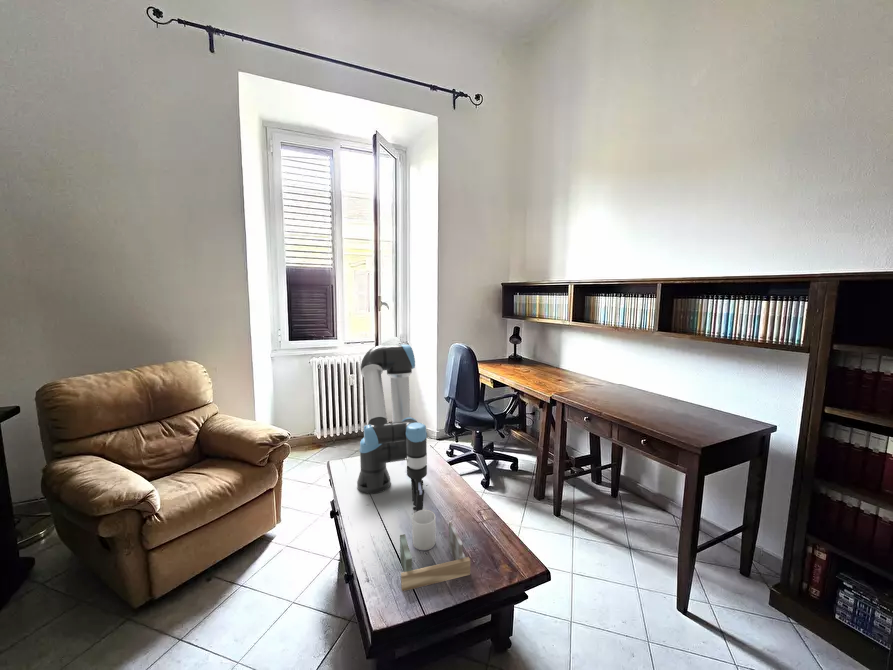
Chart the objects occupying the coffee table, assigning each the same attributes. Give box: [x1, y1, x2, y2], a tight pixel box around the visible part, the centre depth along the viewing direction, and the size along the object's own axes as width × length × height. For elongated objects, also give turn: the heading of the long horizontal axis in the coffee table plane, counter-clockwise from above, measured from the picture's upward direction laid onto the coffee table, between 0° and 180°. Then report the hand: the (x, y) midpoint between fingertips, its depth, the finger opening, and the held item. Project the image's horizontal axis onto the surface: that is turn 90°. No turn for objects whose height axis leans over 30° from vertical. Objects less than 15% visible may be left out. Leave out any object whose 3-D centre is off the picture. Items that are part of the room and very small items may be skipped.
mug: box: [411, 509, 437, 552], centre depth 131 cm, size 12×8×10 cm
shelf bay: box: [399, 521, 471, 592], centre depth 118 cm, size 13×23×10 cm, turn 107°
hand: (417, 522), depth 139 cm, fingers closed
